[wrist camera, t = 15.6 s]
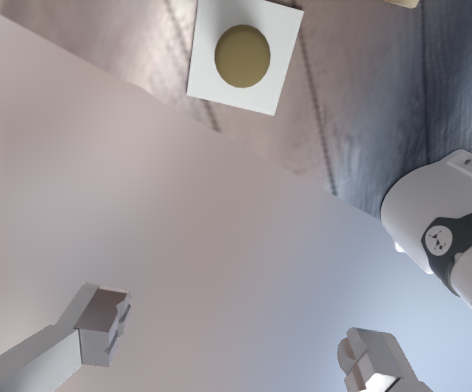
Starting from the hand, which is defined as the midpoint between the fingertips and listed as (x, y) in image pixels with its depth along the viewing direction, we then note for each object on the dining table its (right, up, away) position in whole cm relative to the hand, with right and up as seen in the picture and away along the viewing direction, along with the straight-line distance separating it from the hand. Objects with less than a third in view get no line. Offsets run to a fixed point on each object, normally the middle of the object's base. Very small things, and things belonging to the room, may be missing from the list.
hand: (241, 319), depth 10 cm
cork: (+1, +22, +23) cm, 32 cm away
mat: (0, +22, +23) cm, 32 cm away
